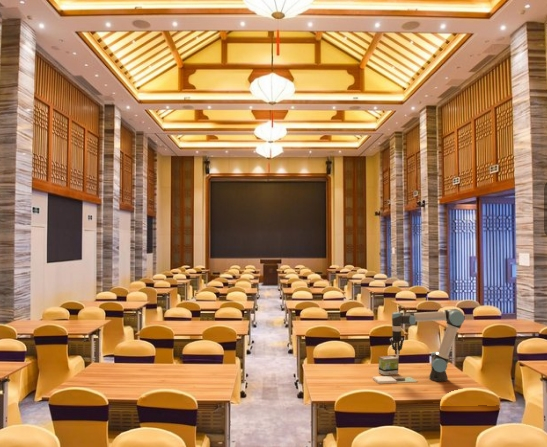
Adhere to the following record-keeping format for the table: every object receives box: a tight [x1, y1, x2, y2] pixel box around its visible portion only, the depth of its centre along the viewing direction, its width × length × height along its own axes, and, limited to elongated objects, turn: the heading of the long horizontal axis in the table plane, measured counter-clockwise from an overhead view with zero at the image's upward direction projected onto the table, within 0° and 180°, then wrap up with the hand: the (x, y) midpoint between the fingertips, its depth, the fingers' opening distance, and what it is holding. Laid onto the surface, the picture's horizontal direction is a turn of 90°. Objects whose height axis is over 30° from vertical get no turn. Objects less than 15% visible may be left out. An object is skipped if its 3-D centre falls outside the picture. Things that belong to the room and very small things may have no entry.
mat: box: [396, 376, 418, 384], centre depth 419 cm, size 18×14×1 cm
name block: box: [391, 376, 405, 381], centre depth 418 cm, size 9×6×2 cm, turn 99°
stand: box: [372, 375, 397, 385], centre depth 416 cm, size 16×14×2 cm
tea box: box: [378, 355, 399, 376], centre depth 440 cm, size 15×10×15 cm, turn 112°
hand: (397, 357), depth 419 cm, fingers closed
